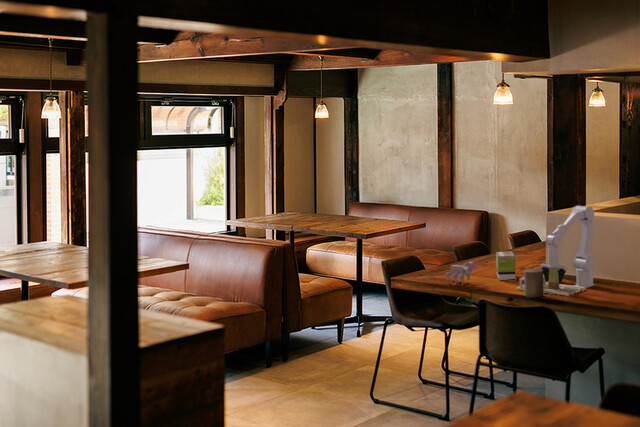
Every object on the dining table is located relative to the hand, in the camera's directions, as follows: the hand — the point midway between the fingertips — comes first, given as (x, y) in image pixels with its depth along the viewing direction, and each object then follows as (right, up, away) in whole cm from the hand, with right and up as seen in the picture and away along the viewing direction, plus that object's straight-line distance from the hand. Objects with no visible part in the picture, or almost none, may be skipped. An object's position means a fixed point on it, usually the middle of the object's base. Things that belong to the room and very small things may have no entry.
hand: (553, 282), depth 427 cm
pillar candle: (-13, -7, -9) cm, 17 cm away
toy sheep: (-43, -4, +28) cm, 52 cm away
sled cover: (-9, -3, +9) cm, 13 cm away
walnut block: (0, -5, +1) cm, 5 cm away
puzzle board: (0, -5, +4) cm, 6 cm away
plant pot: (+8, -2, +25) cm, 27 cm away
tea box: (-16, -1, +41) cm, 44 cm away
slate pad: (+7, -4, -4) cm, 9 cm away
